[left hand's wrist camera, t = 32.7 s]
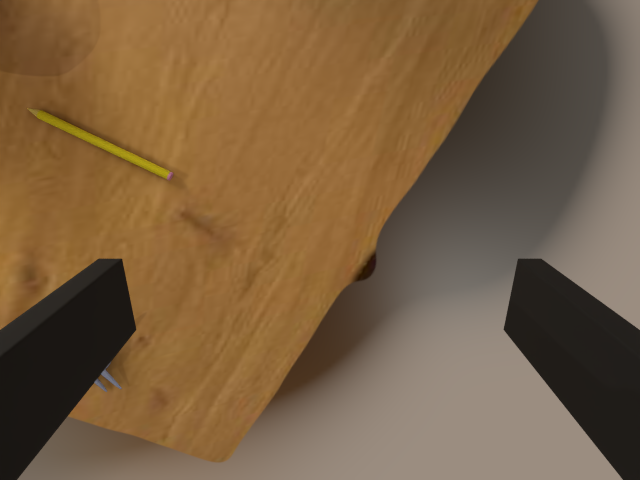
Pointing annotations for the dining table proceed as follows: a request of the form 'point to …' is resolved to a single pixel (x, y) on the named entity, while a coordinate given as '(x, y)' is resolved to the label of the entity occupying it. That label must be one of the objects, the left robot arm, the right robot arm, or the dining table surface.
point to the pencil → (101, 143)
